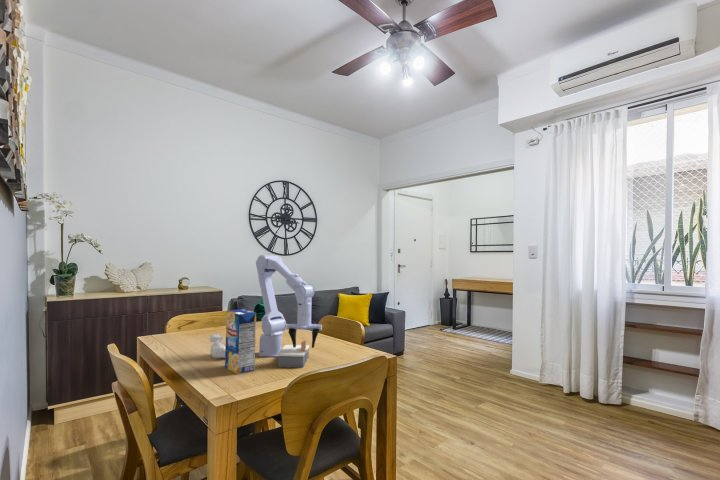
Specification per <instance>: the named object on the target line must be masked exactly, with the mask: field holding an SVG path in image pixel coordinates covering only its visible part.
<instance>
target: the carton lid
mask: <svg viewBox="0 0 720 480" xmlns="http://www.w3.org/2000/svg"><path fill="white" fill-rule="evenodd" d="M308 348H309V349H310V344H307V339H302V341H301V344H296V347H295V348H293V344H285V345H284V346H282V349H281V350H280V352H279V353H278V354H277V356H293V357H304V355H305V353H306V352H307V350H308Z"/></svg>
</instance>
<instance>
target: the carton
mask: <svg viewBox="0 0 720 480" xmlns="http://www.w3.org/2000/svg"><path fill="white" fill-rule="evenodd" d="M309 349H310V347H309V348H308V350H307V352H306V353H305V355H304V357H293V356H278V357H277V368H301V369H302V368H303V369H304V366H305V365H306V362H307V361H308V359H309V354H310V353H309V352H310V350H309Z"/></svg>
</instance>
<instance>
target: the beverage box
mask: <svg viewBox="0 0 720 480" xmlns="http://www.w3.org/2000/svg"><path fill="white" fill-rule="evenodd" d="M225 320H226V321H225V346H226V351H225V358H224V359H225V360H224V367H225V369H227V370H229V371H231V372H233V373H235V374H236V375H241V374H244V373H249V372H254V371H256V370H255V366H256V365H255V364H256V363H255V362H256V330H257V328H256V323H257V312H255V311H252V310H248V309H245V308H240V309H230V310H226V319H225Z"/></svg>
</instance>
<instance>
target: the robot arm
mask: <svg viewBox="0 0 720 480" xmlns="http://www.w3.org/2000/svg"><path fill="white" fill-rule="evenodd" d="M255 266H256V269H257V277H258V282H259V287H260V293H261V297H262V302H263V306H264V307H263V308H264V312H265V314H264V315H263V317H261V331H262V333H261V334H260V336H259V349H258V352H259V353H258V357H270V358H271V357H277V358H278V356H277V354H278V353H279V352H280V350H281V349H282V348H283V334H284V332H285V330H286V331H287V330H288V334H289V336H290V338H291V342H292V345H293V348H295V347H296V345H297V339H296V338H297V330H310V331H311V330H312V331H311V338H312V339H311V340H312V341H311V348H312V349H314V347H315V344H316V339H317V337H318V334H319V332H320V331H322V330H323V325H322V324H318V323H312V305H313V304H312V303H313V301H312V298H313V297H314V296H315V287H314V286H313V285H312V284H309V283H307V282H306V281H304V280H303V279H302V277H300V275H299V273H292V272H291V270H290V269H289V268H288V267H287V266H286V264H285V263H284V261H283V258H282V257H281V256H280V255H278V254H275V255H273V254H272V255H271V254H269V255H268V254H267V255H266V254H260V255H259V256H258V257H257V259H256V261H255ZM276 272H278V273H279V274H280V276H282V277H283V278H284V279H285V280H286V281H285V282H286V284H287V285H288V287H290V288H291V290H293V292H294V296H295V298H296V303H297V313H296V315H297V318H296V319H297V321H296V322H297V323H287V321H286V319H285V317H284V314H283V313H282V312H280V311H279V310H278V305H277V300H276V294H275V290H274V285H273V280H272V277H273V275H274V274H275V273H276Z"/></svg>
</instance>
